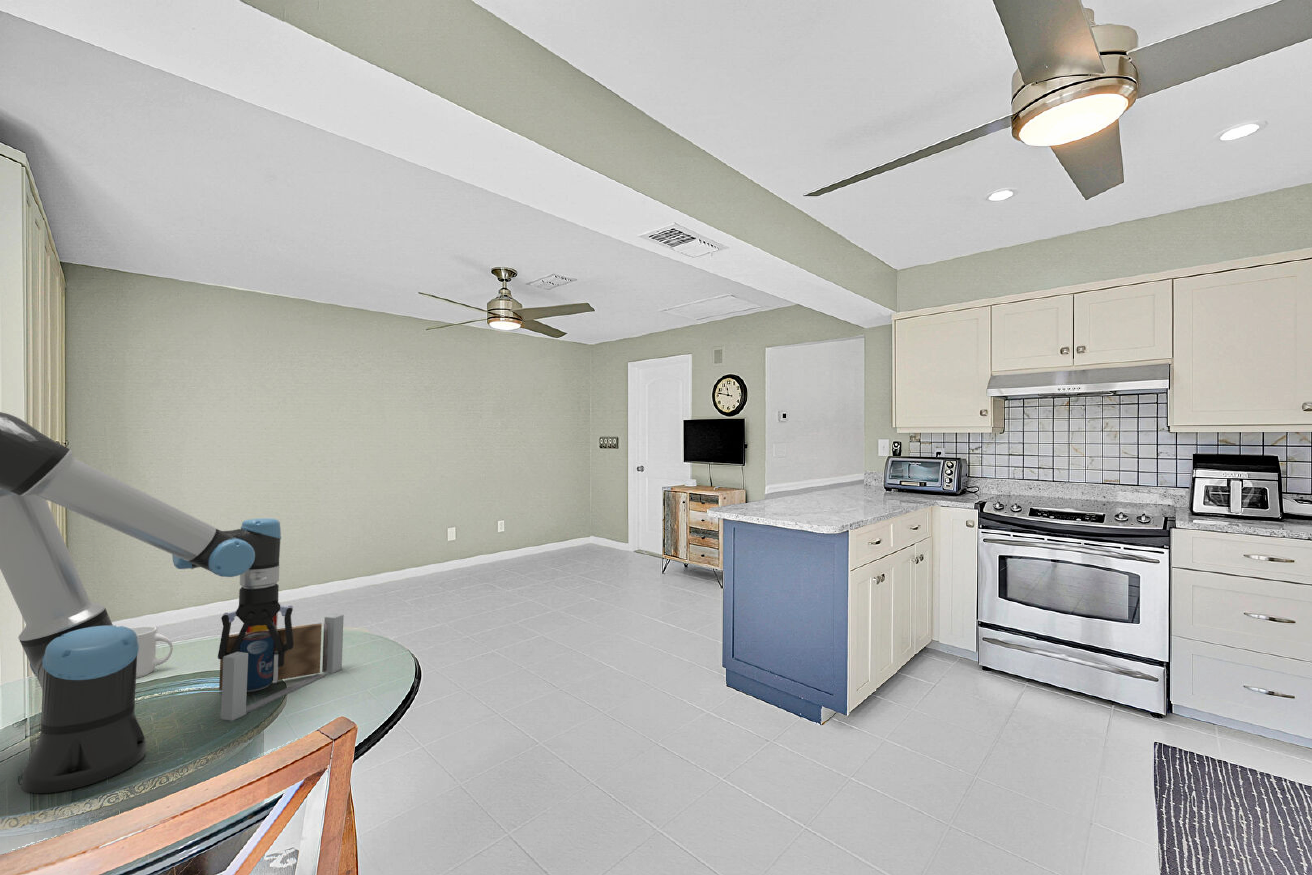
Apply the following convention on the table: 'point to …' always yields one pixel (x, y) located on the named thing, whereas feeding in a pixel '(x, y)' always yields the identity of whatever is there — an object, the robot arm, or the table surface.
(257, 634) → the soda can
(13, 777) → the table surface
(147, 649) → the mug
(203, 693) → the table surface
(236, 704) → the gray u-shaped frame
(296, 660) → the door
